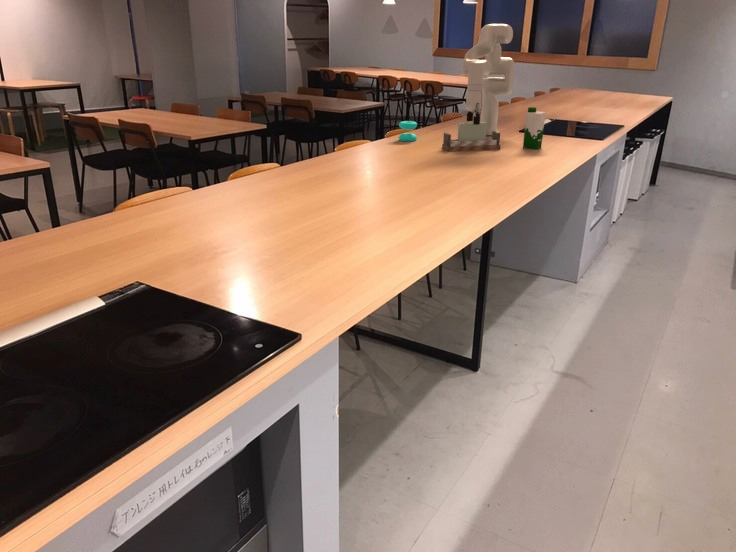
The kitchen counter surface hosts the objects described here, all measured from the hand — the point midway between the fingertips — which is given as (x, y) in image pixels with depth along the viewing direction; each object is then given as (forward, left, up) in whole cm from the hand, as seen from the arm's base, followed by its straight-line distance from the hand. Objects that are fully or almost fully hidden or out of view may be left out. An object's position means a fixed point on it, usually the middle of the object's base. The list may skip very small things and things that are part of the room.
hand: (472, 122), depth 295 cm
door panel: (0, 0, -11) cm, 11 cm away
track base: (+1, 0, -13) cm, 13 cm away
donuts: (-29, -26, -13) cm, 42 cm away
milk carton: (+5, +32, -13) cm, 35 cm away
